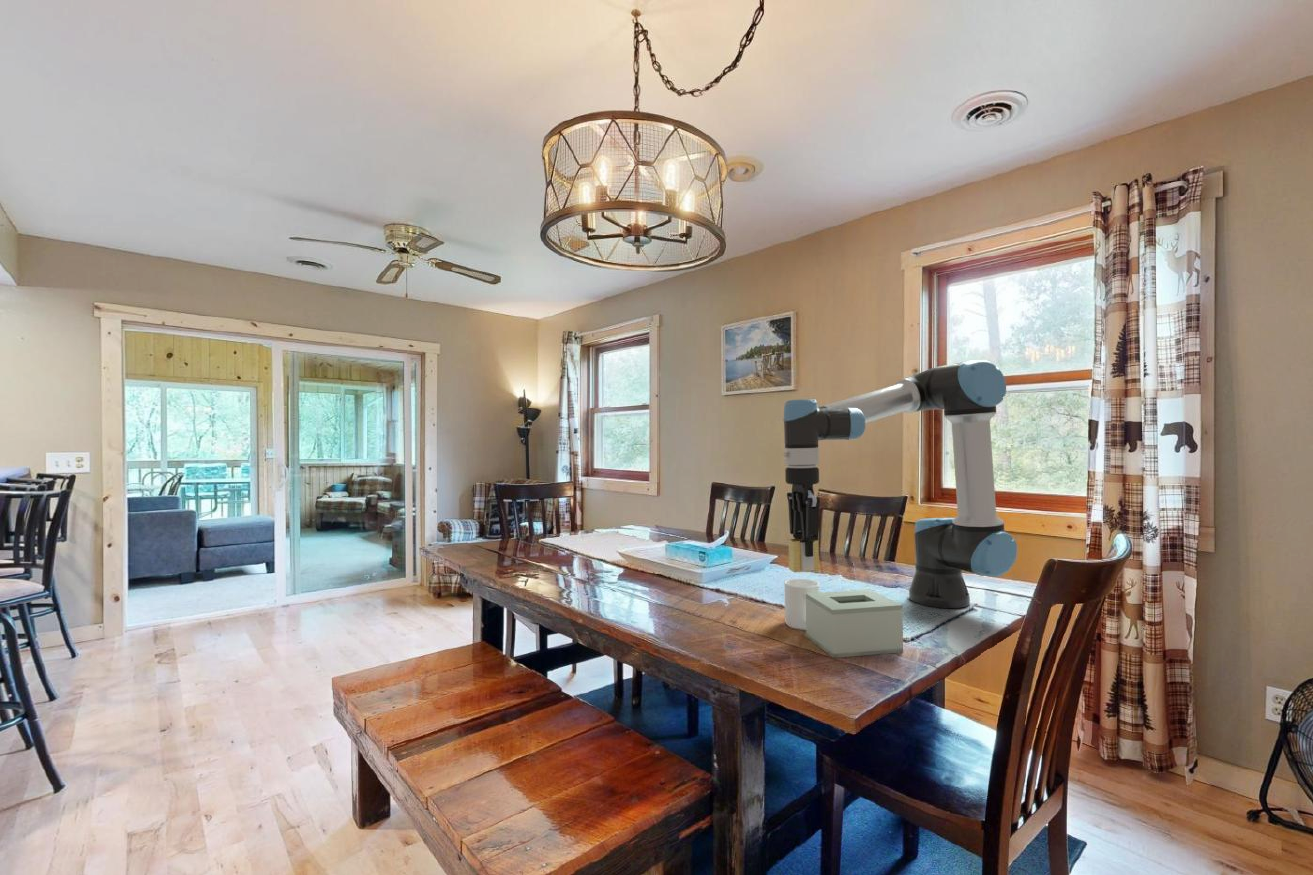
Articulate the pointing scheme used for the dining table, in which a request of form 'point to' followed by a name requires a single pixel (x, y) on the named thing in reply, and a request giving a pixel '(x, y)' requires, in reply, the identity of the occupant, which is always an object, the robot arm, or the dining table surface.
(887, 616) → the box
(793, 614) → the mug
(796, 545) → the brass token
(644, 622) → the dining table surface
